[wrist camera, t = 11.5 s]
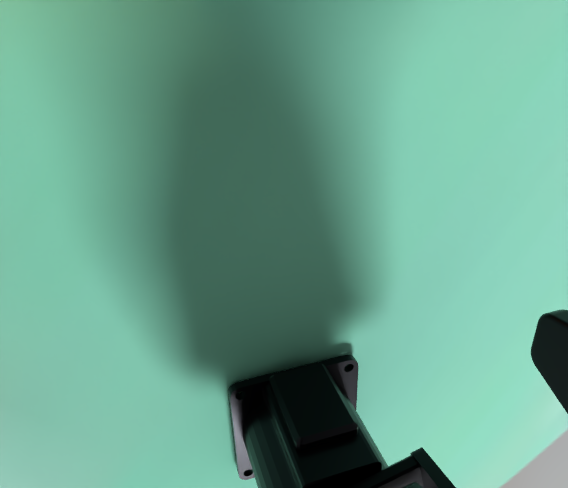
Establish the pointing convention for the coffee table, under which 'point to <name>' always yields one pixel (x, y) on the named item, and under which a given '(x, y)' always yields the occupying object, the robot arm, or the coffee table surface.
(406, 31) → the coffee table surface
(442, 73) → the coffee table surface
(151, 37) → the coffee table surface
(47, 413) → the coffee table surface
